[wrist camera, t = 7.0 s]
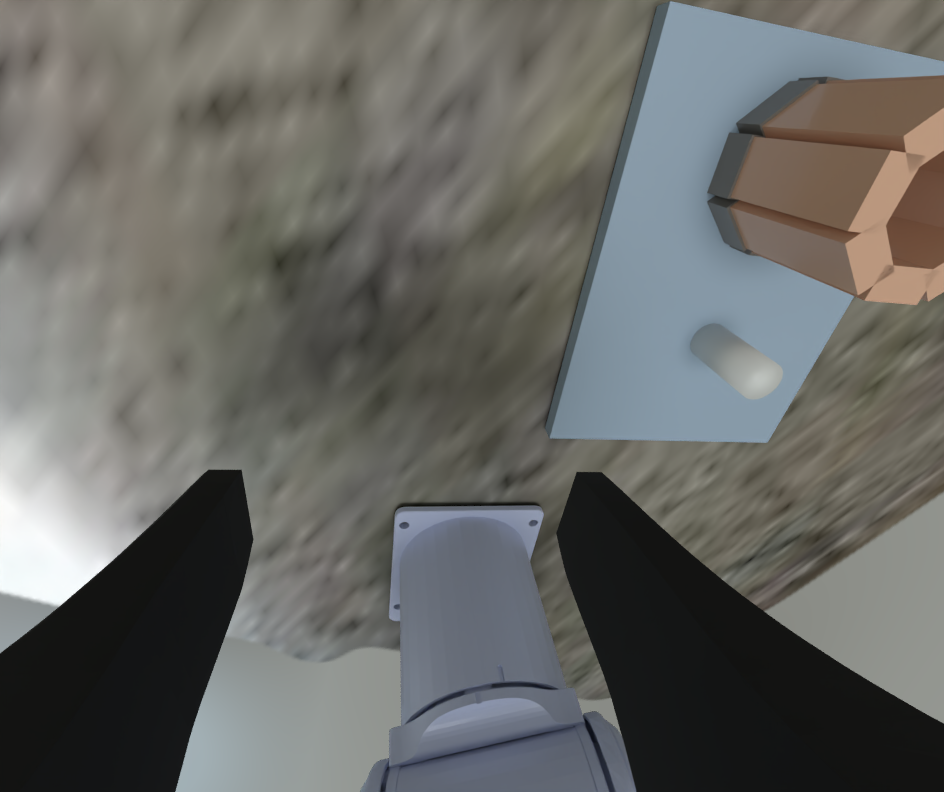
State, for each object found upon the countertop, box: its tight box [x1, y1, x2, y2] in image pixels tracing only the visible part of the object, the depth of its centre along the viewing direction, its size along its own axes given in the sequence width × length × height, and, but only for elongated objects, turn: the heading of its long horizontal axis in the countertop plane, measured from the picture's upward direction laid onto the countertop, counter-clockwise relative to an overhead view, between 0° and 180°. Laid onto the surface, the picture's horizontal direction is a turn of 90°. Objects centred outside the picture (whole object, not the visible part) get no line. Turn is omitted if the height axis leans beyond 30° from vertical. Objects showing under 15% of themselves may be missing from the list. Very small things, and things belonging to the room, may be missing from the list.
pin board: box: [545, 1, 944, 442], centre depth 17 cm, size 16×12×4 cm
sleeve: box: [707, 75, 944, 305], centre depth 14 cm, size 5×5×6 cm
